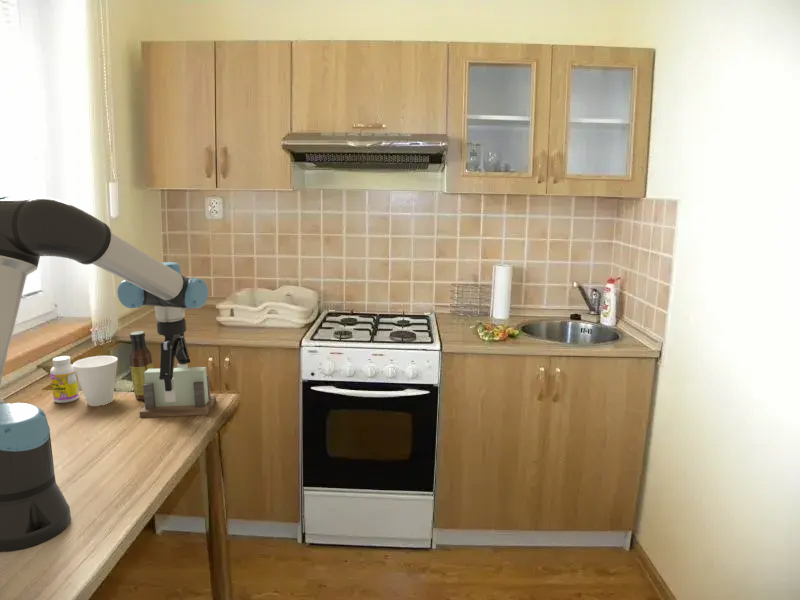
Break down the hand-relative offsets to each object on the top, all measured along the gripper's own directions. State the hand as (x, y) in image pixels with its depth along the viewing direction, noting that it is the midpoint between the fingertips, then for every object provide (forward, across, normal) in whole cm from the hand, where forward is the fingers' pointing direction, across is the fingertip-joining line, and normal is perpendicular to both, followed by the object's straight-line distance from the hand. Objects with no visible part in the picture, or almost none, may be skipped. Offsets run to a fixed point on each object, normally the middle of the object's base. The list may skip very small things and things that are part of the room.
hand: (177, 393), depth 183 cm
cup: (+5, +8, +25) cm, 27 cm away
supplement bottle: (+5, +11, +36) cm, 38 cm away
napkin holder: (+5, 0, 0) cm, 5 cm away
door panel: (+3, 0, 0) cm, 3 cm away
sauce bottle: (+5, +11, +13) cm, 18 cm away
